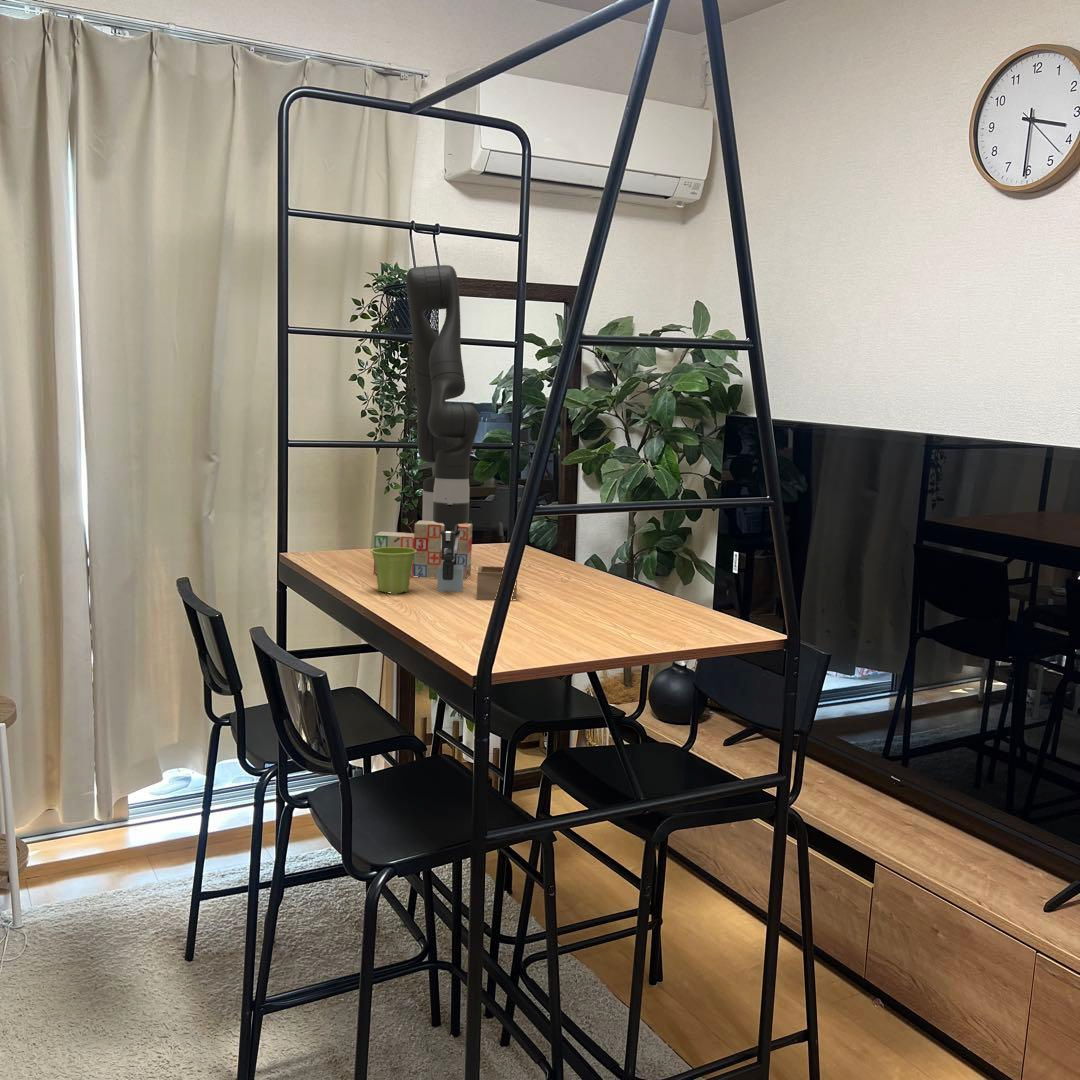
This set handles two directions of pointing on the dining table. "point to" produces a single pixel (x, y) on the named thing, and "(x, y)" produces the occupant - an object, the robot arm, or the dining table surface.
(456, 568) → the bluegrey cube
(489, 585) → the walnut base
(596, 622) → the dining table surface
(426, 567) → the stack of blocks
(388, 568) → the plant pot
